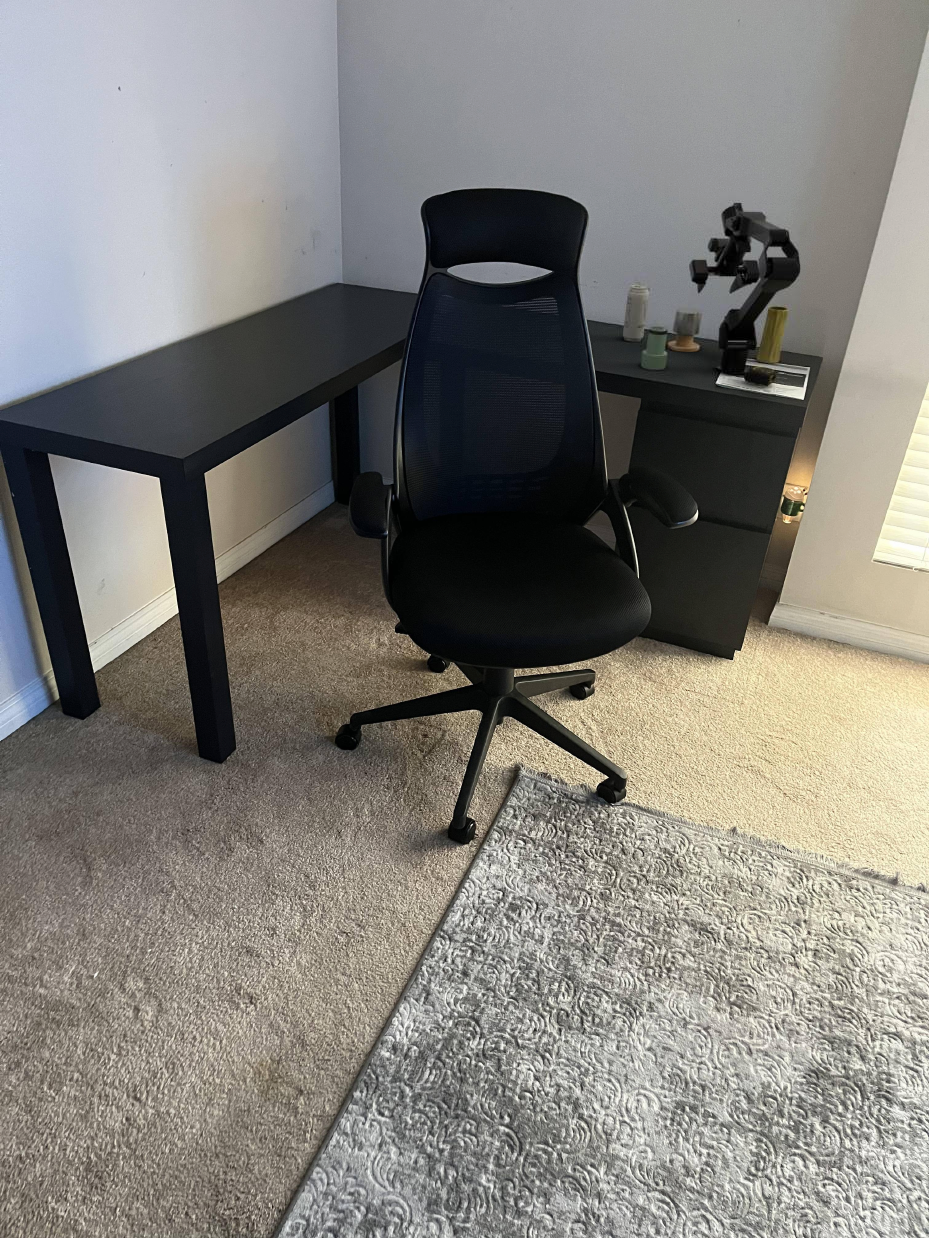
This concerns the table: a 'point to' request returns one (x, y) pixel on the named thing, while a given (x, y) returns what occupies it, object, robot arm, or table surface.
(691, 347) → the peg
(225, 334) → the table surface
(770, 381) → the tape measure
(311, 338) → the table surface
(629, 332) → the energy drink can
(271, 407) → the table surface
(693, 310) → the cap
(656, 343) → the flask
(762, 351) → the vase
